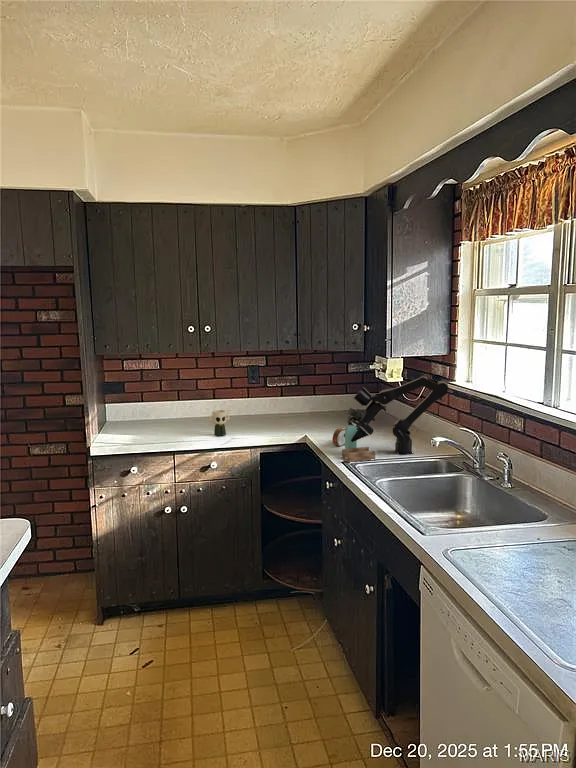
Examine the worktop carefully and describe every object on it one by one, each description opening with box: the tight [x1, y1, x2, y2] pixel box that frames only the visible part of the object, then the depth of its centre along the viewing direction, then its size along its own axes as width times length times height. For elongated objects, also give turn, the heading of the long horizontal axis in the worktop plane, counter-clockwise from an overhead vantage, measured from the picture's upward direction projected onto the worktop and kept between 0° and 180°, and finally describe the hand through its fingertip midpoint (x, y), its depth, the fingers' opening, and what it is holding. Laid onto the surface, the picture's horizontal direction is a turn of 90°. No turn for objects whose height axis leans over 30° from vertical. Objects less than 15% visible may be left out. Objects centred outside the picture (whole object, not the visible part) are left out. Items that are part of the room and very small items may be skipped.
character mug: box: [208, 409, 230, 437], centre depth 301 cm, size 11×7×13 cm, turn 112°
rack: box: [341, 446, 376, 463], centre depth 250 cm, size 12×8×4 cm
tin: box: [332, 426, 345, 447], centre depth 275 cm, size 15×3×8 cm, turn 141°
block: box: [344, 424, 358, 449], centre depth 258 cm, size 4×4×13 cm
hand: (347, 439), depth 257 cm, fingers open, 9 cm apart
